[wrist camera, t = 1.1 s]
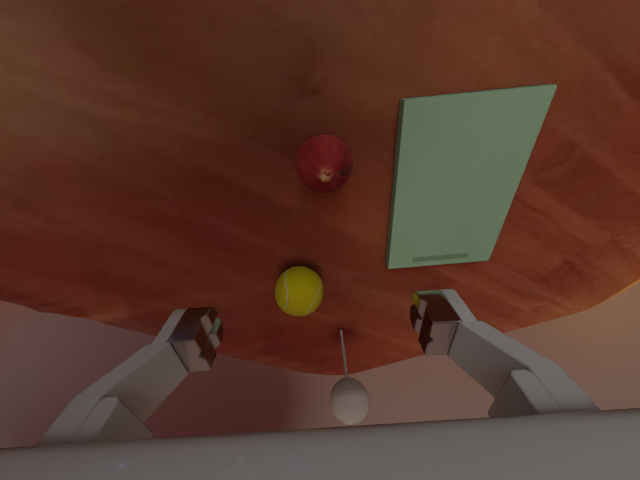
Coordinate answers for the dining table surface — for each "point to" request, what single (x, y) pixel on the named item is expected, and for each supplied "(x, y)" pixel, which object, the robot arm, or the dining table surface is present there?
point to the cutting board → (459, 172)
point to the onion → (324, 163)
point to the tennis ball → (299, 291)
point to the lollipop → (349, 397)
